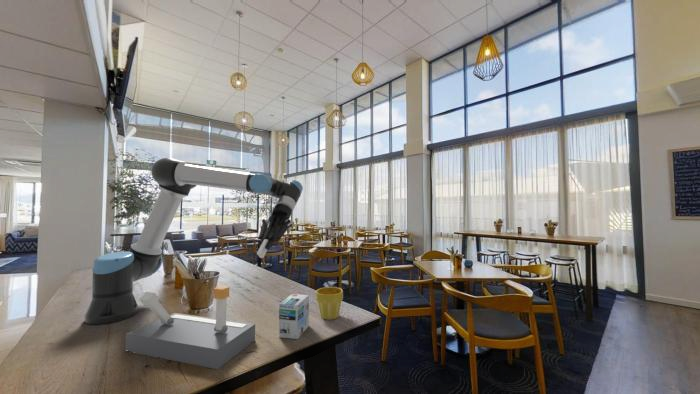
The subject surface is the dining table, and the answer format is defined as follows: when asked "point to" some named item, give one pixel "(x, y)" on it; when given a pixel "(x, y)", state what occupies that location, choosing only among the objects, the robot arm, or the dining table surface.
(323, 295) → the plant pot
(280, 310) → the light bulb box
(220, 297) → the breaker
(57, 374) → the dining table surface
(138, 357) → the dining table surface
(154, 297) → the breaker on
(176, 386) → the dining table surface
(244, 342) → the box
